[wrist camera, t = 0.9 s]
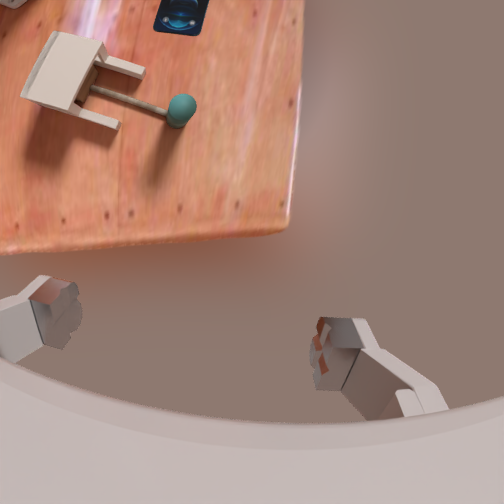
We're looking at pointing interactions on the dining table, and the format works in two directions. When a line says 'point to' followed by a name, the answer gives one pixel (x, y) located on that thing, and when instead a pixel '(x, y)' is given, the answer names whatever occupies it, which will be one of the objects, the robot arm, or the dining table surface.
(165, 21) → the smartphone
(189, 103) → the brown and green piece
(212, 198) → the dining table surface
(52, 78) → the white u-shaped bracket
